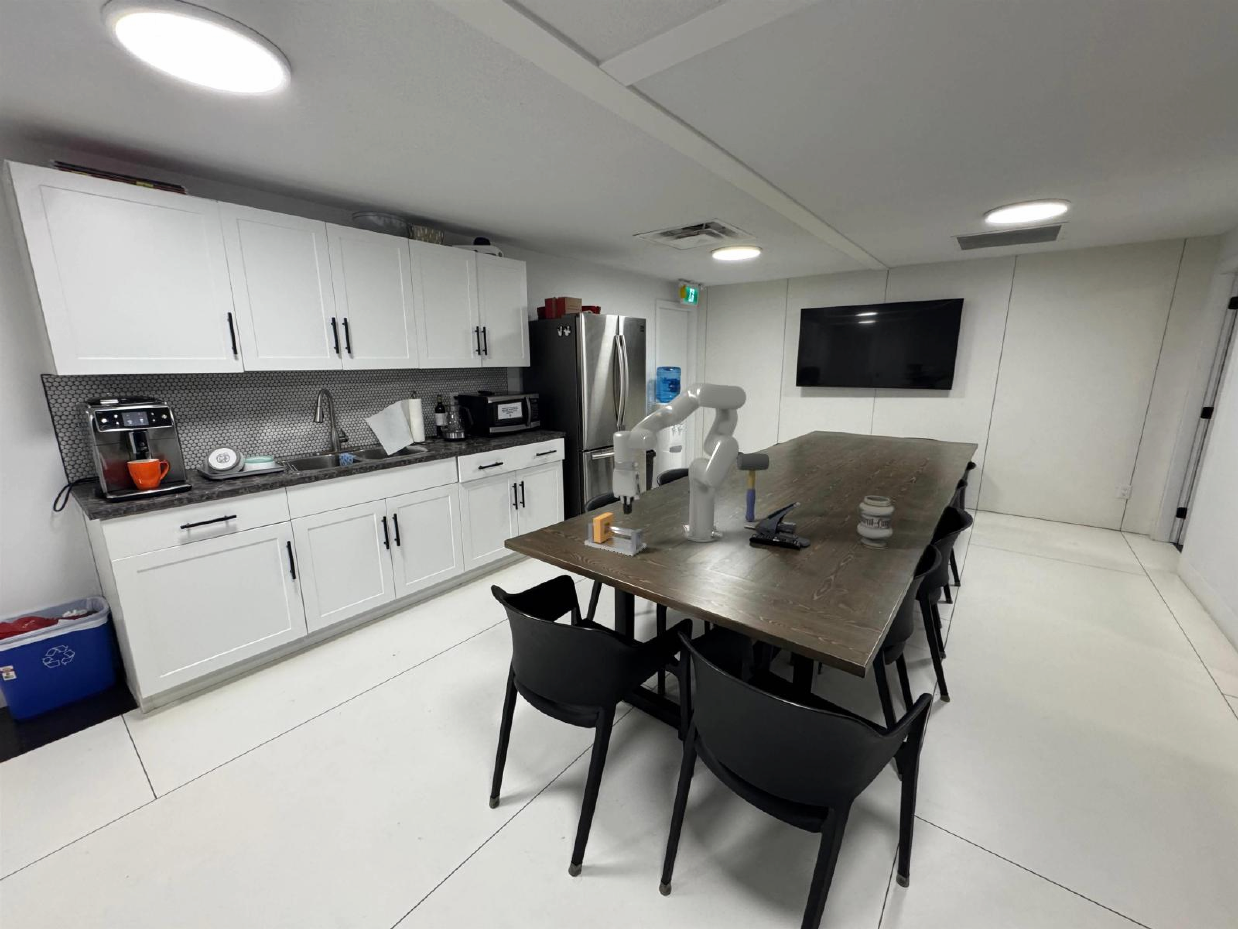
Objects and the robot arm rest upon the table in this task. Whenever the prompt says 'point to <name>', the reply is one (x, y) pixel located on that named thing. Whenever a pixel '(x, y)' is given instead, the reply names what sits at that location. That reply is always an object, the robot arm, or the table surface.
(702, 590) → the table surface
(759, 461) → the rubber mallet
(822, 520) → the table surface
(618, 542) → the pipe stand
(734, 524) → the table surface
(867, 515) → the apothecary jar
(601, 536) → the collar
